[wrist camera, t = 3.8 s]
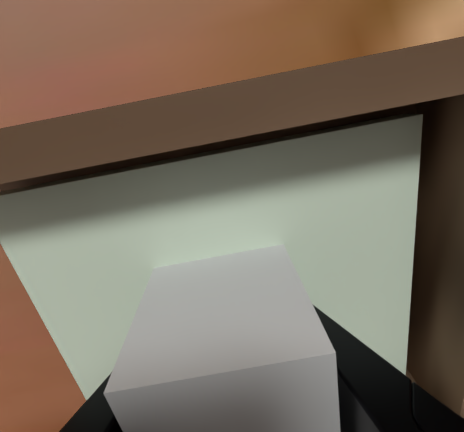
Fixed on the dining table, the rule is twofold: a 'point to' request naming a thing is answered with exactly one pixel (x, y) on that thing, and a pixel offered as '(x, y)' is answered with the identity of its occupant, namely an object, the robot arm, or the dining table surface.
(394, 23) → the dining table surface
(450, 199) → the walnut box
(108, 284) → the cover plate
